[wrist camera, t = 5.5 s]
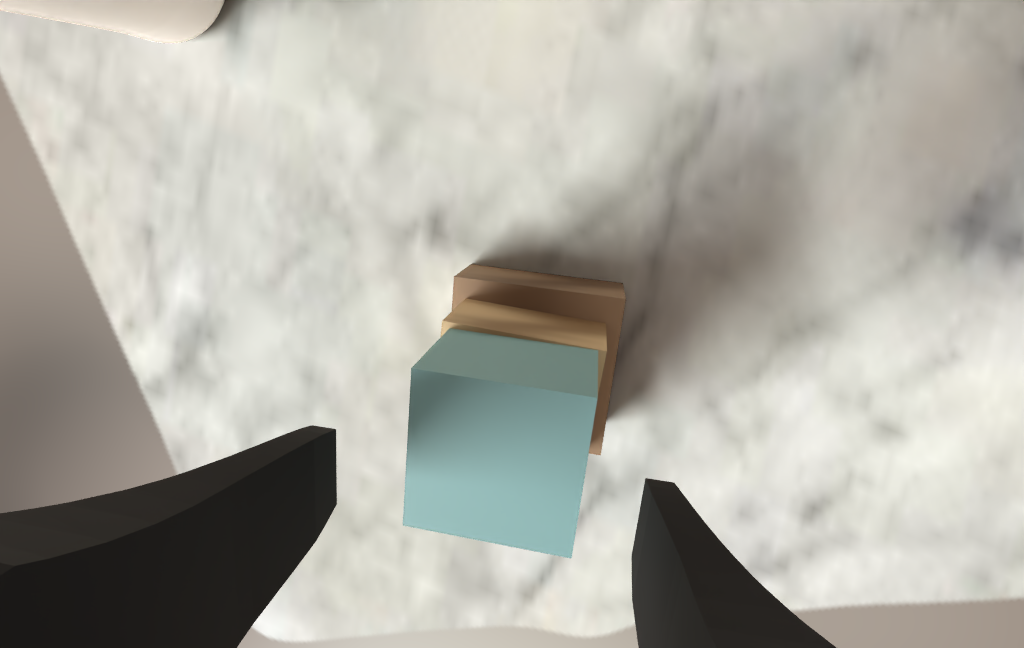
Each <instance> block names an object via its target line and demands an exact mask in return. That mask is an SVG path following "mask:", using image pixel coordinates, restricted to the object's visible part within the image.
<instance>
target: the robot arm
mask: <svg viewBox="0 0 1024 648" xmlns="http://www.w3.org/2000/svg"><path fill="white" fill-rule="evenodd" d="M336 504H337V490H336V429H331V428H325V427H318V426H308V427H305V428H301V429H298V430H296V431H293V432H290V433H287V434H285V435H282V436H280V437H277V438H275V439H272V440H270V441H267V442H265V443H262V444H260V445H257V446H255V447H252V448H249V449H247V450H244V451H242V452H239V453H237V454H234V455H232V456H229V457H226V458H224V459H221V460H218V461H215V462H213V463H210V464H207V465H204V466H202V467H199V468H196V469H193V470H190V471H188V472H185V473H182V474H179V475H176V476H172V477H170V478H166V479H163V480H160V481H156V482H152V483H149V484H145V485H142V486H138V487H135V488H131V489H127V490H123V491H118V492H114V493H110V494H105V495H100V496H96V497H91V498H87V499H83V500H78V501H74V502H69V503H63V504H58V505H52V506H46V507H40V508H35V509H28V510H21V511H14V512H7V513H0V648H237V646H238V645H239V643H240V642H241V640H242V639H243V638H244V636H245V635H246V633H247V632H248V630H249V629H250V628H251V626H252V625H253V623H254V622H255V621H256V619H257V618H258V617H259V616H260V614H261V613H262V612H263V610H264V609H265V608H266V606H267V605H268V604H269V602H270V601H271V600H272V599H273V597H274V596H275V595H276V593H277V592H278V591H279V589H280V588H281V587H282V585H283V584H284V583H285V582H286V580H287V579H288V578H289V576H290V575H291V574H292V572H293V571H294V570H295V568H296V567H297V566H298V564H299V563H300V562H301V560H302V559H303V558H304V556H305V555H306V554H307V552H308V551H309V550H310V548H311V547H312V546H313V544H314V543H315V542H316V540H317V538H318V537H319V535H320V533H321V532H322V530H323V528H324V526H325V525H326V523H327V521H328V519H329V517H330V515H331V514H332V512H333V510H334V508H335V506H336ZM632 601H633V609H634V616H635V624H636V631H637V639H638V645H639V648H836V647H835V646H834V645H832V644H831V643H830V642H828V641H827V640H826V639H825V638H823V637H822V636H821V635H819V634H818V633H817V632H815V631H814V630H813V629H812V628H810V627H809V626H808V625H806V624H805V623H804V622H803V621H802V620H800V619H799V618H798V617H797V616H796V615H794V614H793V613H792V612H791V611H790V610H789V609H788V608H786V607H785V606H784V605H783V604H782V603H781V602H780V601H779V600H778V599H777V598H775V597H774V596H773V595H772V594H771V593H770V592H769V591H768V590H767V589H765V588H764V587H763V586H762V585H761V584H760V583H759V582H758V581H757V580H756V579H755V578H754V577H753V576H752V575H751V574H750V573H749V572H748V571H747V570H746V569H745V568H744V566H743V565H742V564H741V563H740V562H739V561H738V560H737V559H736V558H735V557H734V556H733V555H732V554H731V553H730V551H729V550H728V549H727V548H726V547H725V546H724V545H723V544H722V542H721V541H720V540H719V539H718V538H717V537H716V535H715V534H714V533H713V532H712V531H711V529H710V528H709V527H708V526H707V525H706V523H705V522H704V521H703V520H702V518H701V517H700V516H699V514H698V513H697V512H696V511H695V509H694V508H693V507H692V505H691V504H690V503H689V501H688V500H687V499H686V498H685V496H684V495H683V494H682V492H681V491H680V490H679V488H678V487H677V486H676V485H675V483H673V482H666V481H660V480H654V479H647V478H646V479H645V484H644V490H643V495H642V501H641V507H640V512H639V518H638V524H637V529H636V535H635V540H634V546H633V552H632Z"/></svg>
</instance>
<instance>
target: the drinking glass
mask: <svg viewBox="0 0 1024 648" xmlns="http://www.w3.org/2000/svg"><path fill="white" fill-rule="evenodd" d="M223 4H224V0H0V11H5V12H11V13H17V14H22V15H28V16H33V17H39V18H45V19H50V20H56V21H61V22H67V23H72V24H78V25H83V26H89V27H94V28H99V29H104V30H110V31H115V32H120V33H124V34H127V35H131V36H134V37H138V38H141V39H145V40H149V41H153V42H158V43H167V44H171V43H181V42H185V41H188V40H191V39H193V38H195V37H197V36H199V35H200V34H202V33H203V32H204V31H206V30H207V29H208V28H209V27H210V26H211V25H212V23H213V22H214V21H215V19H216V18H217V16H218V15H219V13H220V11H221V9H222V6H223Z"/></svg>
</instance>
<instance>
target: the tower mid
mask: <svg viewBox="0 0 1024 648" xmlns="http://www.w3.org/2000/svg"><path fill="white" fill-rule="evenodd" d="M449 328H452V329H459V330H465V331H472V332H479V333H486V334H492V335H499V336H506V337H512V338H519V339H526V340H533V341H539V342H546V343H553V344H559V345H566V346H573V347H579V348H586V349H593V350H598V392H599V388H600V383H601V378H602V373H603V368H604V363H605V358H606V354H607V336H606V323H600V322H595V321H589V320H584V319H578V318H573V317H567V316H561V315H556V314H550V313H545V312H539V311H534V310H528V309H522V308H517V307H511V306H506V305H500V304H494V303H489V302H483V301H478V300H472V299H467V298H466V299H465V300H464V301H463V302H461V303H460V304H459V305H458V306H457V307H456V308H455V309H454V310H453V311H452V312H451V313H450V314H449V315H448V316H447V317H446V318H445V319H444V320H443V321H442V329H441V337H442V336H443V335H444V334H445V333H446V331H447V330H448V329H449Z"/></svg>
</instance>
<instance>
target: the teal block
mask: <svg viewBox="0 0 1024 648" xmlns="http://www.w3.org/2000/svg"><path fill="white" fill-rule="evenodd" d="M597 398H598V350H593V349H586V348H579V347H573V346H566V345H559V344H553V343H546V342H539V341H533V340H526V339H519V338H512V337H506V336H499V335H492V334H486V333H479V332H472V331H465V330H459V329H452V328H449V329H448V330H447V331H446V333H445V334H444V335H443V336H442V337H441V338H440V339H439V340H438V341H437V342H436V343H435V344H434V345H433V346H432V347H431V348H430V349H429V350H428V351H427V352H426V353H425V355H424V356H423V357H422V358H421V359H420V360H419V361H418V362H417V363H416V364H415V365H414V366H413V367H412V368H411V386H410V404H409V422H408V441H407V459H406V477H405V496H404V514H403V525H404V526H409V527H414V528H419V529H424V530H429V531H434V532H439V533H444V534H449V535H455V536H460V537H465V538H470V539H475V540H480V541H485V542H490V543H495V544H500V545H506V546H511V547H516V548H521V549H526V550H531V551H536V552H541V553H546V554H551V555H557V556H562V557H567V558H571V557H572V551H573V545H574V539H575V533H576V527H577V521H578V515H579V509H580V502H581V496H582V490H583V484H584V478H585V472H586V466H587V460H588V454H589V447H590V441H591V435H592V429H593V423H594V417H595V411H596V405H597Z"/></svg>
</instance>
